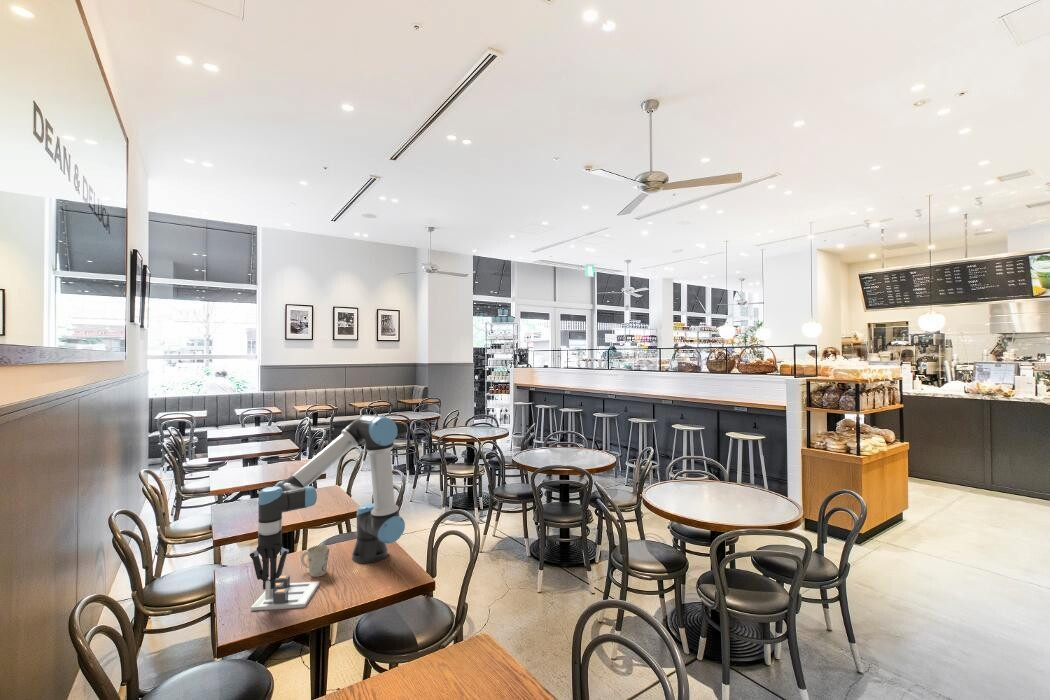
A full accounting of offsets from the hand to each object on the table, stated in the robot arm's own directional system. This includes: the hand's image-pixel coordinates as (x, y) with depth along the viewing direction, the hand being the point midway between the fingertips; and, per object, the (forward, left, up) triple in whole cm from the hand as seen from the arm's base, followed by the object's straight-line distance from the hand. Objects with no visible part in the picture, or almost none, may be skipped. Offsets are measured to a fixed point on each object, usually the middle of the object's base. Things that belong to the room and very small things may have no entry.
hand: (269, 597), depth 167 cm
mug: (-7, -25, -3) cm, 27 cm away
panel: (-4, -6, -3) cm, 8 cm away
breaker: (-4, 0, -1) cm, 4 cm away
